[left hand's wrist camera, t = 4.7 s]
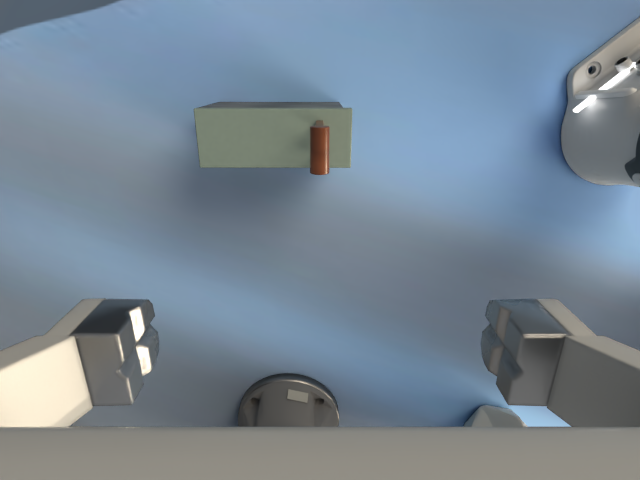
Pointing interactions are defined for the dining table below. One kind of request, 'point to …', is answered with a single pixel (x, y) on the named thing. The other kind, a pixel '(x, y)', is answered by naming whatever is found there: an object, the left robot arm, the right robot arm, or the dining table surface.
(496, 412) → the vase
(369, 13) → the dining table surface
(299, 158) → the lid
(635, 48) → the left robot arm
